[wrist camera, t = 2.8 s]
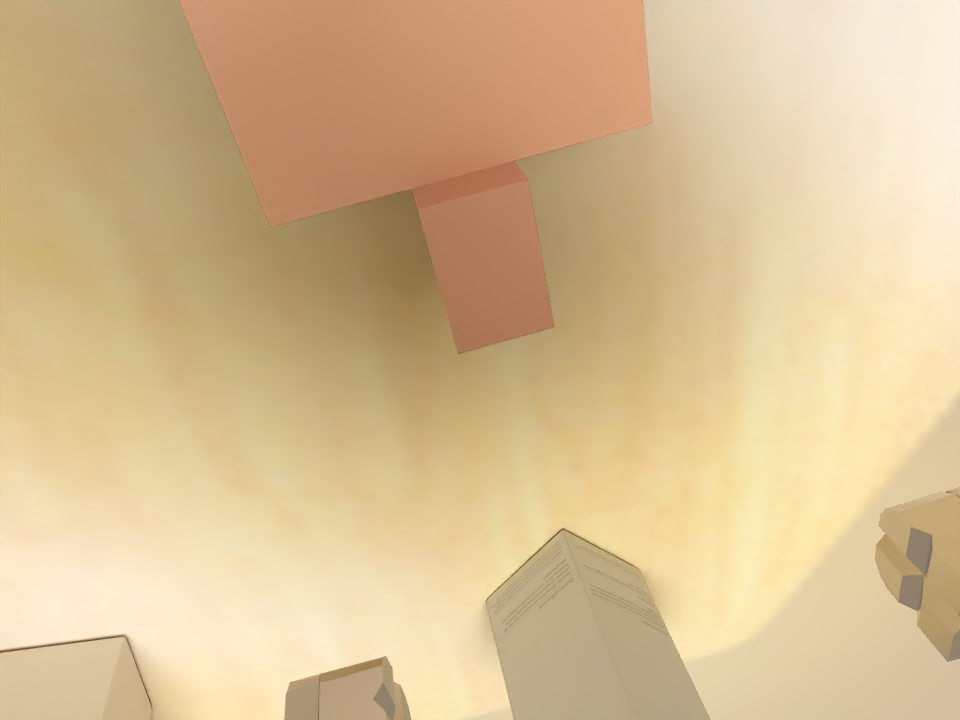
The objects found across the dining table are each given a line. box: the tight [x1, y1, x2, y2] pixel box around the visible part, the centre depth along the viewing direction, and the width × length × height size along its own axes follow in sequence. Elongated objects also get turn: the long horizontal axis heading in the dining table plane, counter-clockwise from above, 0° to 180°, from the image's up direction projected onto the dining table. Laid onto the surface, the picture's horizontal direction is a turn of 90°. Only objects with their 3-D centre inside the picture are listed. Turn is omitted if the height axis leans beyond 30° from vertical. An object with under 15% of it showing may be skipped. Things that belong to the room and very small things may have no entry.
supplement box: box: [486, 530, 710, 720], centre depth 40 cm, size 7×7×13 cm
